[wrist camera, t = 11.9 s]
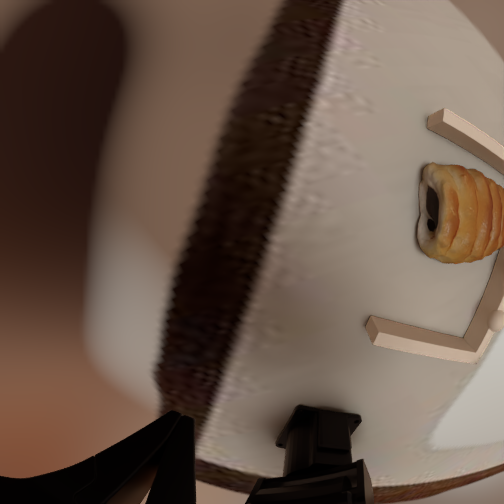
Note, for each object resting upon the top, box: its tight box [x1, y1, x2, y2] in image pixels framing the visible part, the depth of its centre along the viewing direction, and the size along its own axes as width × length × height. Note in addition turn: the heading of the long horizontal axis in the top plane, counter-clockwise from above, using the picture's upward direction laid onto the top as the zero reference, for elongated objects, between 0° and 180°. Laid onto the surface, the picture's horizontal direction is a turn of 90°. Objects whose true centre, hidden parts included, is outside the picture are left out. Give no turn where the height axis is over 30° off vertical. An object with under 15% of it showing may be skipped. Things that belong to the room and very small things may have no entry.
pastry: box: [417, 162, 504, 264], centre depth 14 cm, size 9×7×4 cm
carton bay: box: [365, 108, 504, 364], centre depth 14 cm, size 16×11×3 cm
